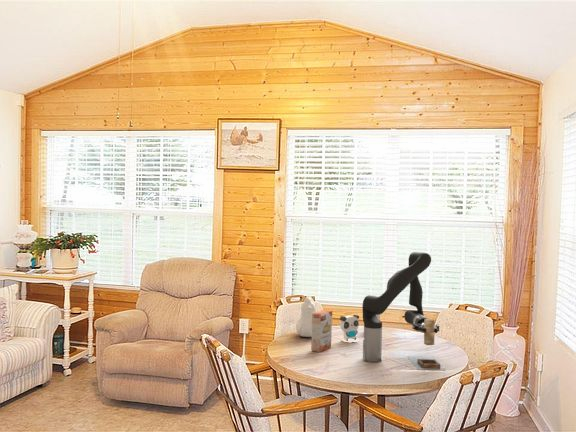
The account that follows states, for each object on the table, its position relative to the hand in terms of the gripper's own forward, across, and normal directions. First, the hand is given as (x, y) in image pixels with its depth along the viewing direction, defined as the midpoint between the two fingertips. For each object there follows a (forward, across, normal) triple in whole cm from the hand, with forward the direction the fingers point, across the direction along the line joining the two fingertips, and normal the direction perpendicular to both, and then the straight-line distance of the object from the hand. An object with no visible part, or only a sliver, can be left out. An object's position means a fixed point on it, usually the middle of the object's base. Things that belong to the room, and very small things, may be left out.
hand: (430, 330), depth 265 cm
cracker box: (-34, -51, +19) cm, 65 cm away
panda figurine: (-54, -33, +19) cm, 67 cm away
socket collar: (-2, 0, +19) cm, 19 cm away
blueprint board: (-8, 0, +19) cm, 21 cm away
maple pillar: (-3, 0, +7) cm, 8 cm away
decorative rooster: (-68, -56, +19) cm, 90 cm away
